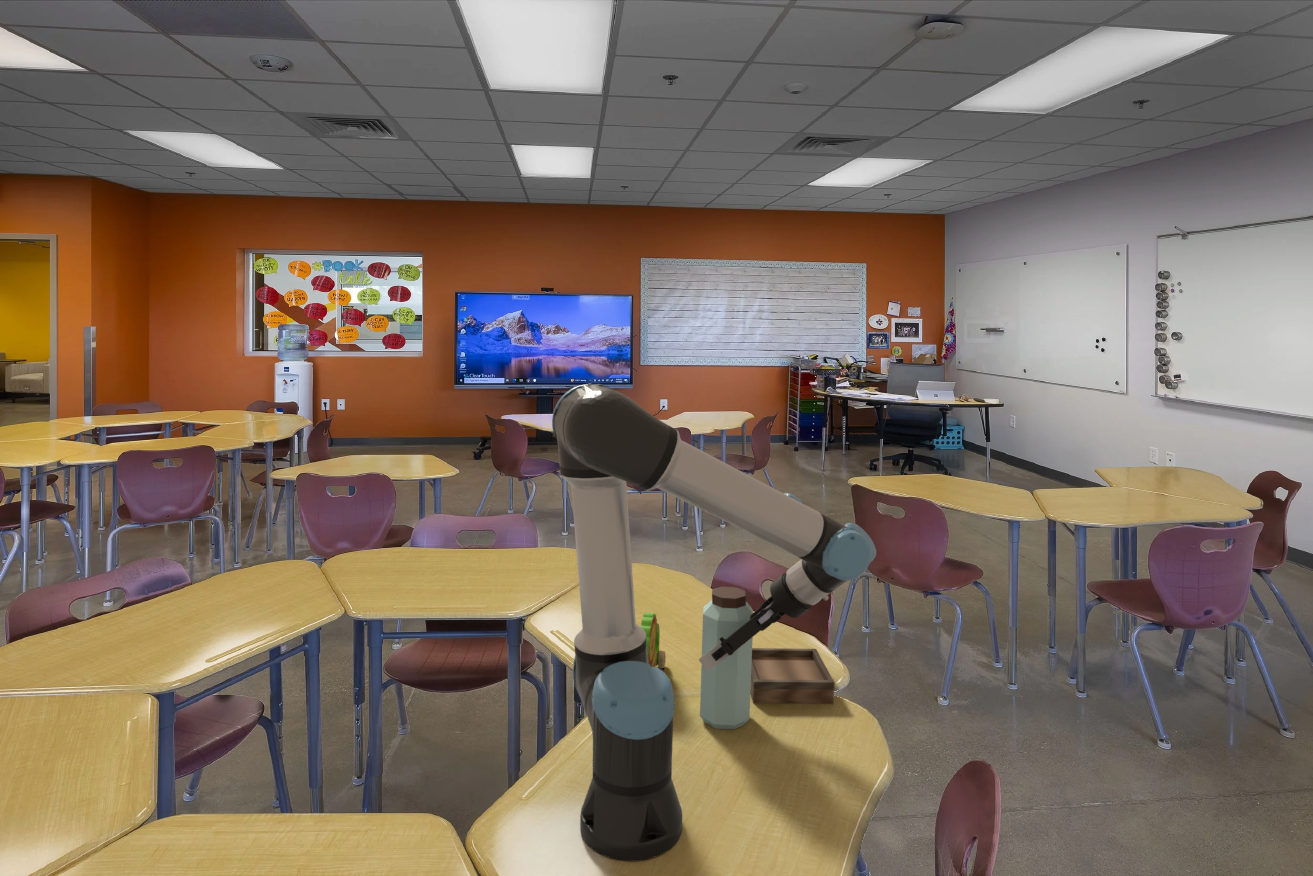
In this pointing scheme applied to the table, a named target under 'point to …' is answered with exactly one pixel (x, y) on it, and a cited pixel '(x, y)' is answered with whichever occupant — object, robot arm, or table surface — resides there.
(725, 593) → the water bottle
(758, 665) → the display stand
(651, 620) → the toy lion
